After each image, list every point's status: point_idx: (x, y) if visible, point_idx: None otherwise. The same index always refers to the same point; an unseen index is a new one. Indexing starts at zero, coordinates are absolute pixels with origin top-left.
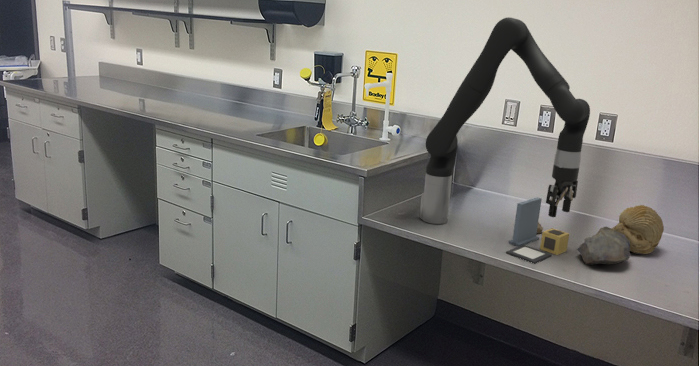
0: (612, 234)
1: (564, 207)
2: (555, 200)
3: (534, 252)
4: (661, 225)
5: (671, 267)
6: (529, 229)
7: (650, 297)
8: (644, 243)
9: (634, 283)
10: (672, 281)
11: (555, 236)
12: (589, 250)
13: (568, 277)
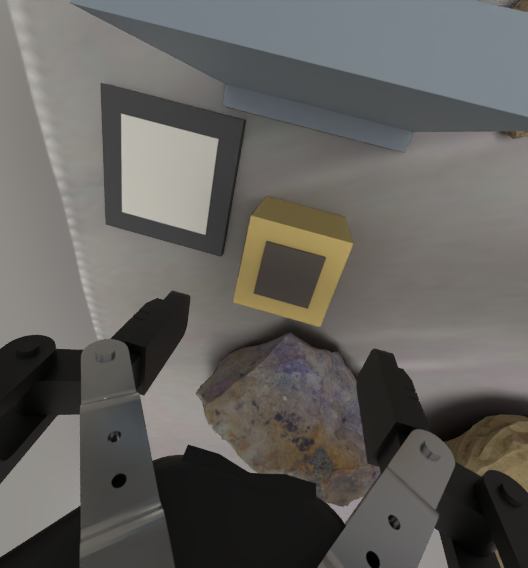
0: None
1: (373, 379)
2: (36, 437)
3: (186, 196)
4: None
5: None
6: (335, 107)
7: (158, 455)
8: None
9: (204, 438)
10: None
11: (237, 282)
12: (197, 395)
13: (108, 324)
